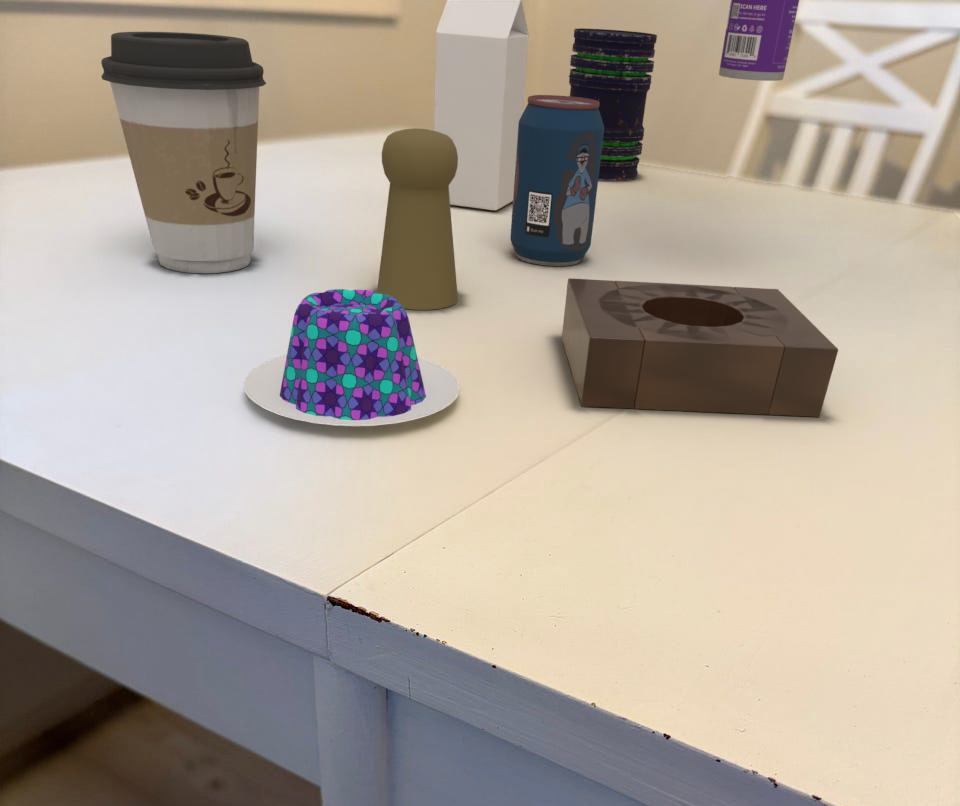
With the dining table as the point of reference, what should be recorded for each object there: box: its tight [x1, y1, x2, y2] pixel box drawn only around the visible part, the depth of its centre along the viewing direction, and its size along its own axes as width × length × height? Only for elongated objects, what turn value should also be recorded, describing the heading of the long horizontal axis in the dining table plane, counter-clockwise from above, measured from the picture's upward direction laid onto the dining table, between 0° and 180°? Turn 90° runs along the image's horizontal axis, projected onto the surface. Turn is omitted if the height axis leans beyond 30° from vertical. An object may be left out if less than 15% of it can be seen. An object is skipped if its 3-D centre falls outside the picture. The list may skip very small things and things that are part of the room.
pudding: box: [243, 288, 461, 427], centre depth 52 cm, size 12×12×5 cm
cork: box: [376, 127, 459, 311], centre depth 66 cm, size 6×6×11 cm
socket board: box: [561, 278, 839, 418], centre depth 58 cm, size 14×12×4 cm
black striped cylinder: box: [568, 27, 658, 182], centre depth 113 cm, size 10×10×15 cm
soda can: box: [509, 94, 604, 267], centre depth 78 cm, size 7×7×12 cm
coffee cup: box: [100, 31, 267, 274], centre depth 70 cm, size 11×11×15 cm
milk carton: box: [433, 0, 529, 211], centre depth 93 cm, size 7×7×19 cm
